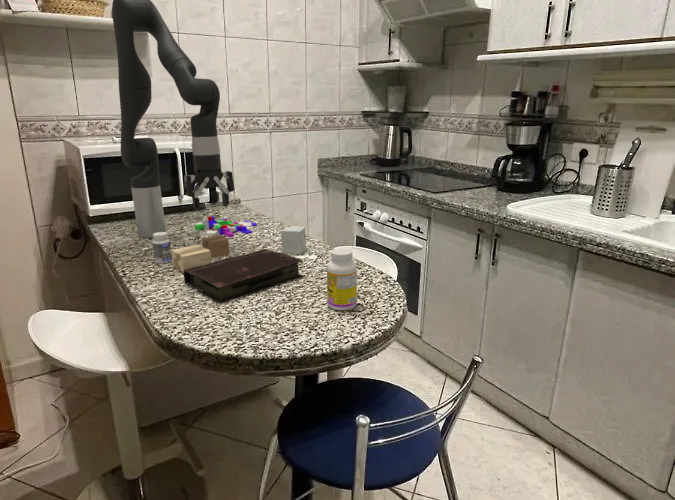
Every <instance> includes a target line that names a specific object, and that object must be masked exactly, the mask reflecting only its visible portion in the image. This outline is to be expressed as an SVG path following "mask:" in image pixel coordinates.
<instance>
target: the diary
mask: <svg viewBox="0 0 675 500" xmlns="http://www.w3.org/2000/svg"><path fill="white" fill-rule="evenodd" d="M299 263H304V260H303V259H299V258H298V257H294V256H291V255H290V254H284V253H282V252H278V251H276V250H275V251H274V250H271V249H267V248H263V249H260V250H257V251H253V252H249V253H246V254H241V255H238V256H232V257H229V258H224V259H221V260H217V261H214V262H212V263H210V264H207V265H202V266H197V267H193V268H188V269H184V273H183V281H184V284H185V285H188V284H191V285H189V287H191V286H193V287H195V288H197V289H199V290H201V291H199V293H200V294H202V295H204V296H205V297H207V298H209V299H210V300H212V301H214V302H216V303H225V302H229V301H232V300H236V299H240V298H242V297H245V296H248V295H251V294H254V293H257V292H259V291H262V290H265V289H269V288H272V287H276V286H277V285H279V284H282V283H286V282H289V281H294V280H297V279H300V278H303V277H304V275H303V274H301V273H299Z"/></svg>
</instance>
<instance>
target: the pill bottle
mask: <svg viewBox="0 0 675 500" xmlns="http://www.w3.org/2000/svg"><path fill="white" fill-rule="evenodd" d="M152 239H153V240H152V243H151V244H152V251H153V257H154V262H155V263H156V264H166V263H170V262H172V261H173V259H172V248H171V240H170V239H169V235H168V232H167V231H166V232H157V233H154V234H153V237H152Z"/></svg>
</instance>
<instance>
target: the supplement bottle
mask: <svg viewBox="0 0 675 500" xmlns="http://www.w3.org/2000/svg"><path fill="white" fill-rule="evenodd" d="M330 257H331V260H330V261H329V262H328V263H327V265H326V294H327V295H326V297H327V298H326V301H327V302H326V303H327V305H328V307H329V308H330V309H331V310H334V311H341V312H342V311H349V310H353V309H354V308H355V307H356V305H357V300H358V299H357V298H358V294H357V293H358V292H357V291H358V288H357V287H358V284H357V283H358V277H357V276H358V273H357V272H358V266H357V264H356V262H355V261H354V260H352V258H353V250H352V249H349V248H342V247H341V248H335V249H332V250H331V252H330Z"/></svg>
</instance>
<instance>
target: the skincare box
mask: <svg viewBox="0 0 675 500" xmlns="http://www.w3.org/2000/svg"><path fill="white" fill-rule="evenodd" d="M280 232H281V233H280V237H281V253H283V254H286V255H301V254H302V253H304V251H306V250H307V241H306V239H307V236H306V234H307V233H306V226H295V225H294V226H293V225H288V226H286V227H284V228H283V229H281V231H280Z"/></svg>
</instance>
